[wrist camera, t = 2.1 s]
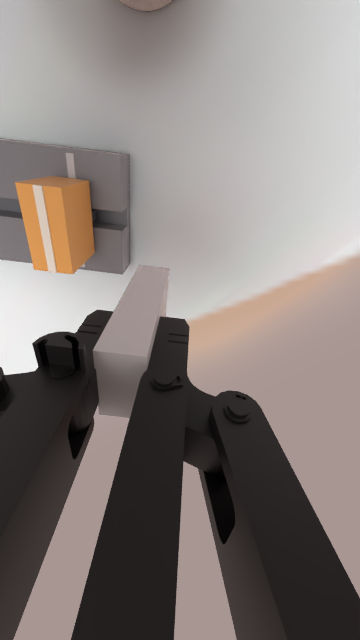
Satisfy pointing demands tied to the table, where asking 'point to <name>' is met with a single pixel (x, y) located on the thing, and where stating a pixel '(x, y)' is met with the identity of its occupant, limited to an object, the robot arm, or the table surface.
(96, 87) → the table surface
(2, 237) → the slider console
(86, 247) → the fader tab
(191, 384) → the robot arm
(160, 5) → the coffee cup
